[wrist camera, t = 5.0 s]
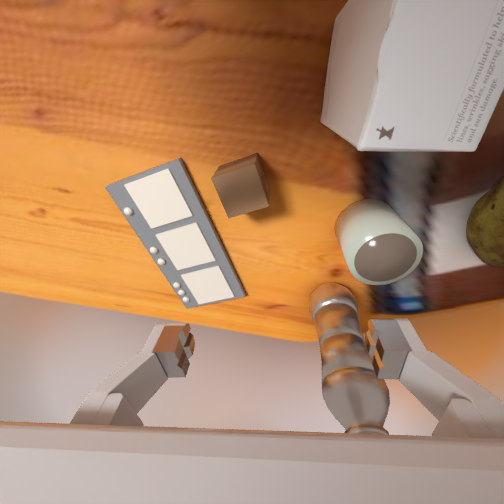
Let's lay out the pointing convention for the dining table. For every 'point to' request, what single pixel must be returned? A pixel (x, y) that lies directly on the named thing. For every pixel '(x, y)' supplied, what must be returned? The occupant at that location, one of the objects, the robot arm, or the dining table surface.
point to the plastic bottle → (347, 363)
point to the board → (178, 233)
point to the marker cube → (242, 186)
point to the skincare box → (414, 74)
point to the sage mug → (377, 242)
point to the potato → (488, 226)
